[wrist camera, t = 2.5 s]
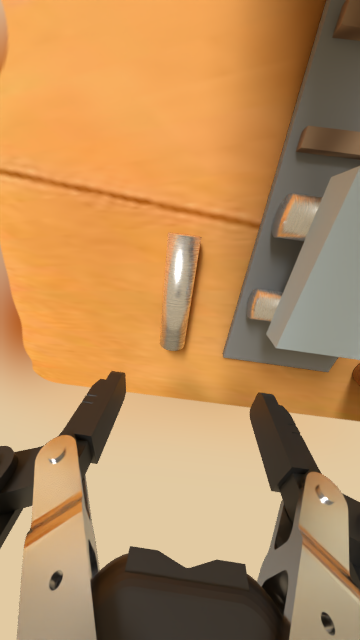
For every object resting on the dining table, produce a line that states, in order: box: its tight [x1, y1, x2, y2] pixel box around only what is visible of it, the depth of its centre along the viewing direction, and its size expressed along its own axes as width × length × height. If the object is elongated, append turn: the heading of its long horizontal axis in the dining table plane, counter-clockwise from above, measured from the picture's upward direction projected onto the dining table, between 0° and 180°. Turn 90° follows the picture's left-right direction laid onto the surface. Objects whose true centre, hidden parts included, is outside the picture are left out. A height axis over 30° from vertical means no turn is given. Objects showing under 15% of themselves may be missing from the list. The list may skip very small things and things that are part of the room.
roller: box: [160, 233, 201, 351], centre depth 25 cm, size 16×4×4 cm
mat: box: [223, 0, 360, 372], centre depth 21 cm, size 18×38×1 cm, turn 173°
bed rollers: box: [247, 193, 323, 321], centre depth 21 cm, size 16×14×4 cm
